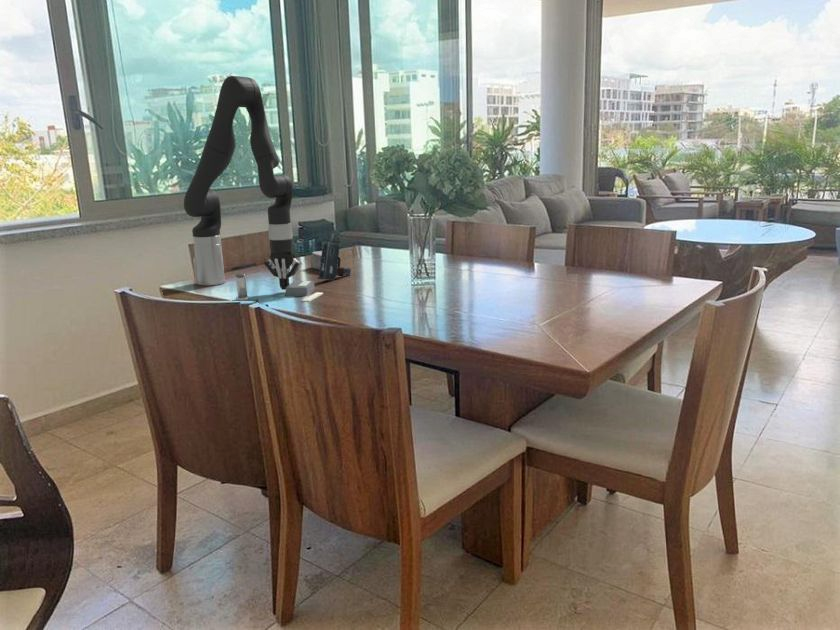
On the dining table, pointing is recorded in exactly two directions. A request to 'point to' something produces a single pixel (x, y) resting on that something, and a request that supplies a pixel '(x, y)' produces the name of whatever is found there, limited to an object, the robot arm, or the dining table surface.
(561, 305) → the dining table surface
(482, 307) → the dining table surface
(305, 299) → the cream flat strip
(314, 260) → the decorative stone
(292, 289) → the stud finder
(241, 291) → the grey beige cylinder
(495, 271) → the dining table surface
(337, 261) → the gun
